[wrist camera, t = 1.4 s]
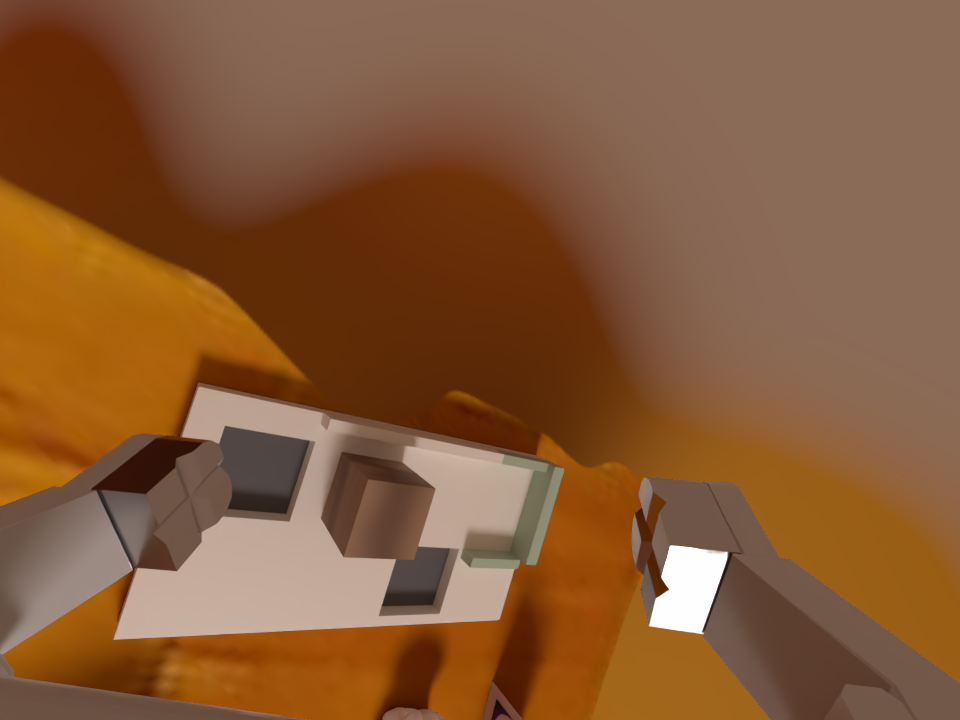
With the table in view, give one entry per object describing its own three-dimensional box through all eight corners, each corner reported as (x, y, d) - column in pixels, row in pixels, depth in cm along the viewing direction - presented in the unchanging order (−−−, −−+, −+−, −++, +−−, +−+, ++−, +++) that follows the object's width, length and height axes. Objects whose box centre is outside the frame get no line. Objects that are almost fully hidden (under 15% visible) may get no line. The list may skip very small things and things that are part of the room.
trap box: (117, 622, 35) (107, 668, 30) (198, 382, 35) (199, 394, 31) (489, 609, 54) (514, 636, 50) (536, 455, 55) (564, 468, 51)
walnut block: (320, 518, 40) (343, 557, 34) (341, 452, 40) (368, 479, 34) (383, 523, 43) (413, 559, 37) (402, 462, 43) (435, 488, 38)
